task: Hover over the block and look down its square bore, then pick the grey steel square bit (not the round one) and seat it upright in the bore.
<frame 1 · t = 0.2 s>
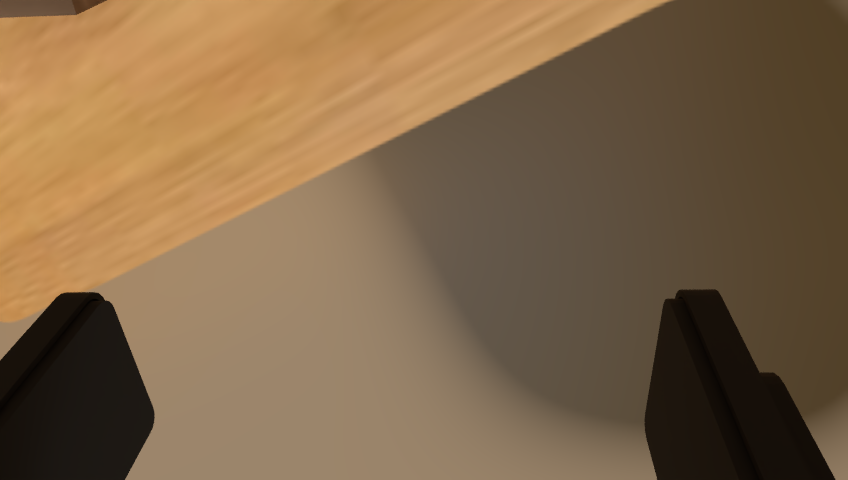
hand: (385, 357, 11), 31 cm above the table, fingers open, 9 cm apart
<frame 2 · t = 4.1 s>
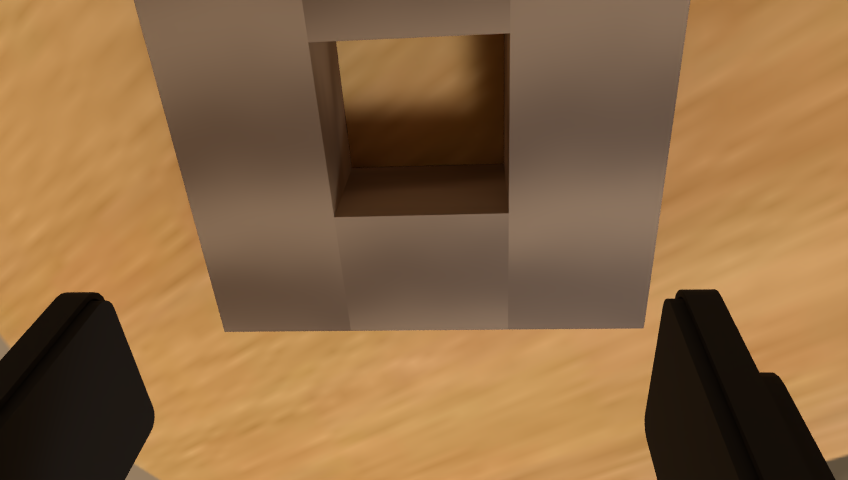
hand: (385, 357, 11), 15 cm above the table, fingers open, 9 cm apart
bore block: (422, 91, 25), on the table
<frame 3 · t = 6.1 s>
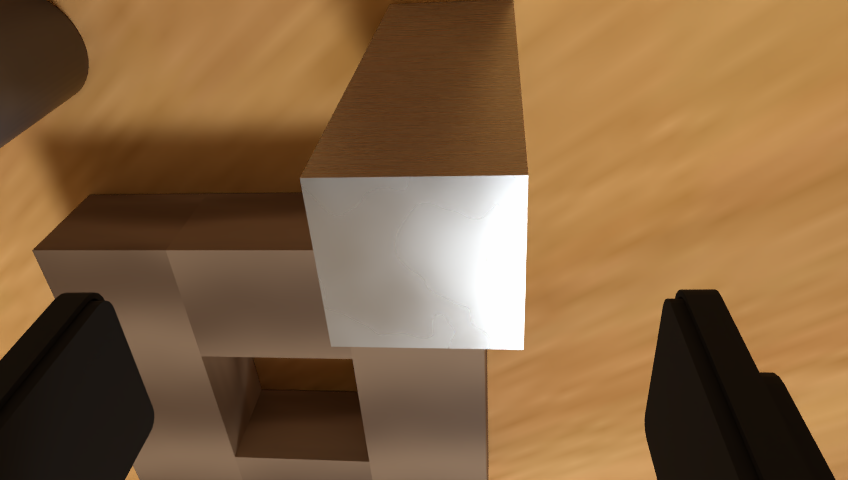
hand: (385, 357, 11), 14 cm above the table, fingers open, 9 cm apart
round bit: (32, 48, 24), on the table
square bit: (453, 62, 23), on the table
bore block: (311, 344, 30), on the table
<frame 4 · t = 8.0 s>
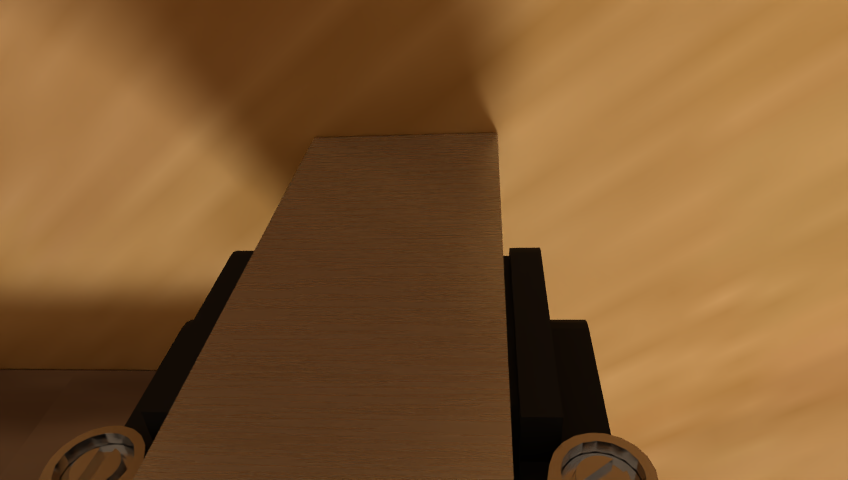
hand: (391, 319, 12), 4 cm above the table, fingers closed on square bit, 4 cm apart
square bit: (411, 215, 15), on the table, touching gripper
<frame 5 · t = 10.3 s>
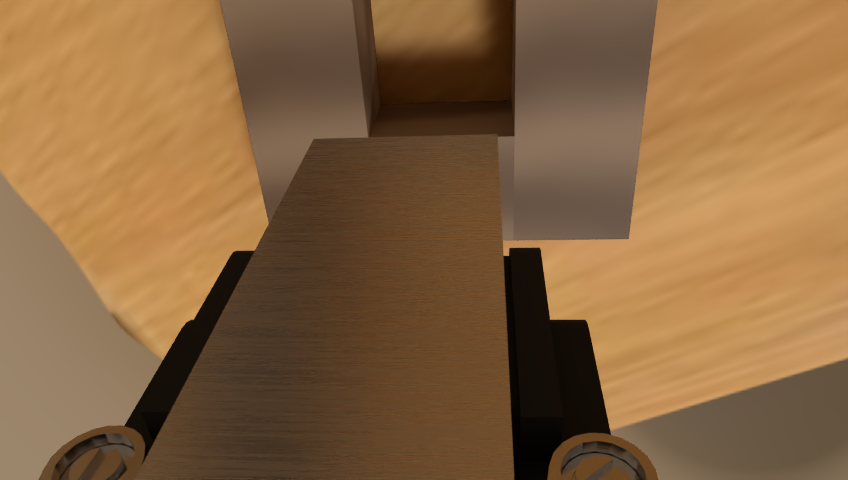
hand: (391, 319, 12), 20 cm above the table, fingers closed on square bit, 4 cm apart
square bit: (410, 216, 15), point 16 cm above the table, touching gripper
bore block: (442, 37, 29), on the table
when the fingers open (5 cm above the table, at t = 12.8 s): square bit drops 1 cm, resting in bore block.
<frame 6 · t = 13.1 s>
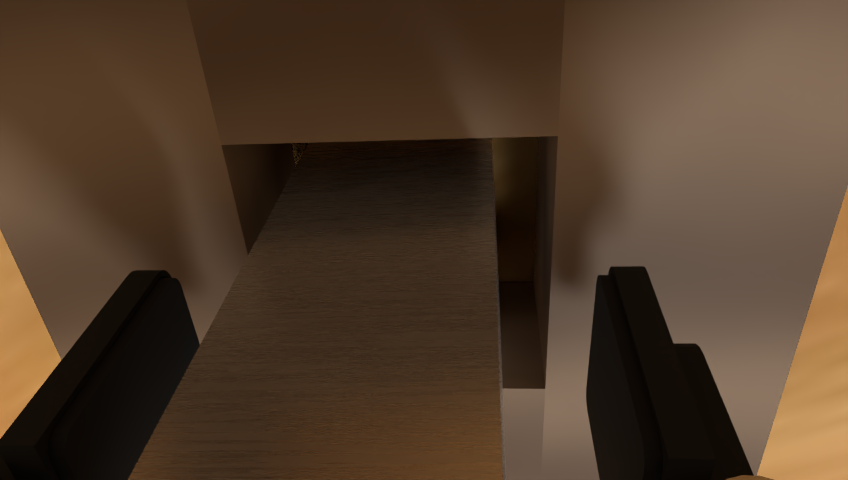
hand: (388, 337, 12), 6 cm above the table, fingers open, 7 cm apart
square bit: (414, 186, 17), resting in bore block
bore block: (416, 186, 17), on the table
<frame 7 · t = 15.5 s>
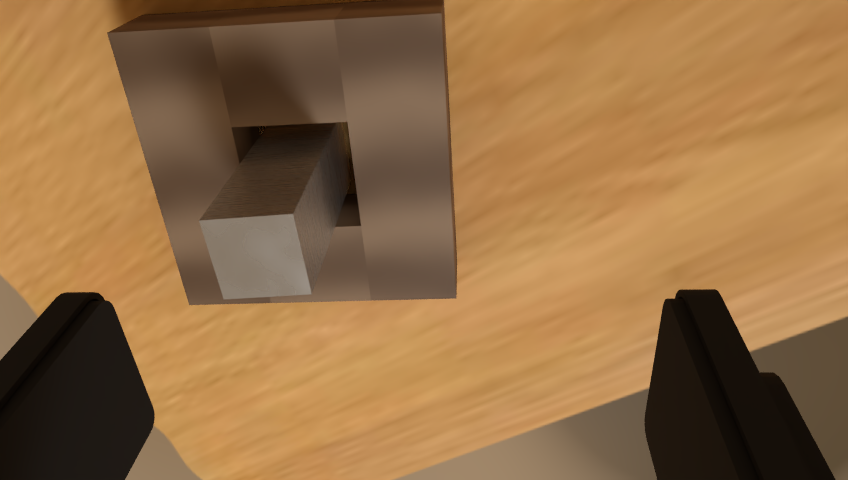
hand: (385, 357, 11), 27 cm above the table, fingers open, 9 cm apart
square bit: (312, 149, 39), resting in bore block
bore block: (313, 149, 38), on the table
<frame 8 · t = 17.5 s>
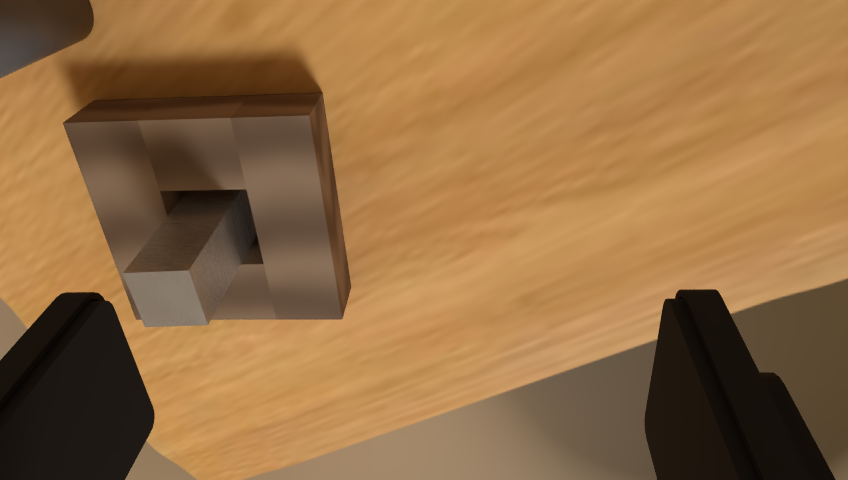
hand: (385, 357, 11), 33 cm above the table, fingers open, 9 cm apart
round bit: (62, 10, 42), on the table
square bit: (231, 200, 49), resting in bore block
bore block: (231, 200, 49), on the table
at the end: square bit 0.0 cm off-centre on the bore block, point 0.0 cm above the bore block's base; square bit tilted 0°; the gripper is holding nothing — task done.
